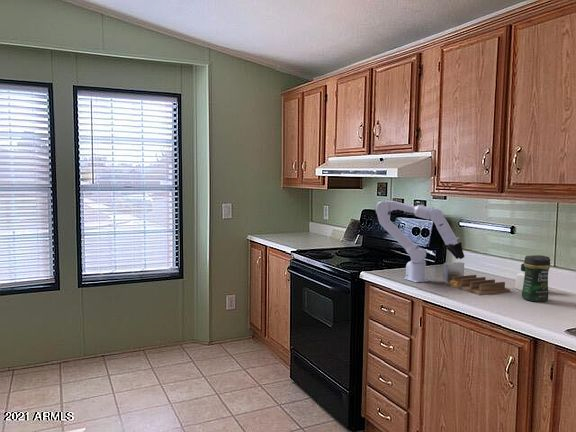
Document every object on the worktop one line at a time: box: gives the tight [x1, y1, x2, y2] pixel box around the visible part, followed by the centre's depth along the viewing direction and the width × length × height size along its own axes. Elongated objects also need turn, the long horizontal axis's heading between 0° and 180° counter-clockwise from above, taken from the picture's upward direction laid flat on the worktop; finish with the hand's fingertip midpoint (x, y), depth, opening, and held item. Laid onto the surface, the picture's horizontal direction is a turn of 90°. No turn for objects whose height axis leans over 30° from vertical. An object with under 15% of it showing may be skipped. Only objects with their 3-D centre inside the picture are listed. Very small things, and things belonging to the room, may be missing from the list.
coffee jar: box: [521, 254, 551, 303], centre depth 200 cm, size 10×8×19 cm
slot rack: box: [446, 274, 511, 295], centre depth 220 cm, size 20×18×4 cm
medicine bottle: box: [514, 262, 525, 292], centre depth 217 cm, size 7×7×12 cm
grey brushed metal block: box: [442, 261, 465, 284], centre depth 234 cm, size 3×10×9 cm, turn 113°
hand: (460, 258), depth 227 cm, fingers open, 7 cm apart
